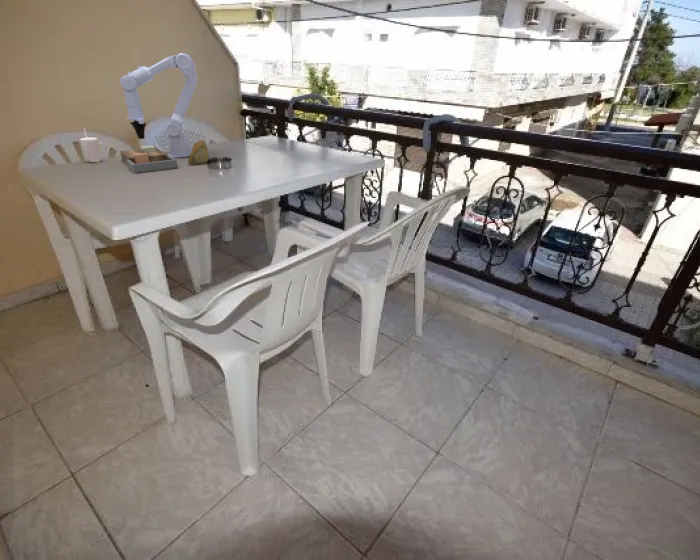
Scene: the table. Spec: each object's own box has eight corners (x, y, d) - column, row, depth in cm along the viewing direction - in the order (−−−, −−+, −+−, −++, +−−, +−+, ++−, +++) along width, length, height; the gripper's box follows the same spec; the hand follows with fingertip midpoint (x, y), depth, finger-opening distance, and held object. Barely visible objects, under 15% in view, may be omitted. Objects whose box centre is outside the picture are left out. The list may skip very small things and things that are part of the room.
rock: (187, 161, 162) (211, 156, 166) (181, 143, 163) (204, 138, 166) (190, 171, 173) (212, 167, 176) (184, 154, 173) (206, 150, 176)
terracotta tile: (146, 153, 160) (147, 154, 159) (148, 165, 162) (150, 166, 161) (133, 154, 157) (134, 155, 156) (136, 166, 160) (137, 167, 158)
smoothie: (85, 161, 166) (75, 127, 159) (102, 159, 170) (92, 126, 163) (88, 164, 162) (78, 129, 155) (105, 162, 166) (95, 128, 159)
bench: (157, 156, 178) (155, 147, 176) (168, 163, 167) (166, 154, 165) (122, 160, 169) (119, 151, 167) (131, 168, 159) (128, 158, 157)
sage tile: (153, 149, 172) (152, 145, 171) (156, 151, 169) (155, 147, 168) (141, 150, 169) (140, 146, 168) (144, 152, 166) (143, 148, 165)
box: (170, 163, 168) (169, 155, 166) (178, 168, 161) (176, 159, 159) (128, 168, 158) (126, 159, 156) (134, 173, 152) (132, 164, 150)
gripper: (120, 104, 168) (128, 136, 175) (128, 108, 159) (136, 142, 166) (137, 104, 172) (144, 135, 179) (146, 107, 163) (153, 140, 170)
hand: (141, 138), depth 173 cm, fingers closed
